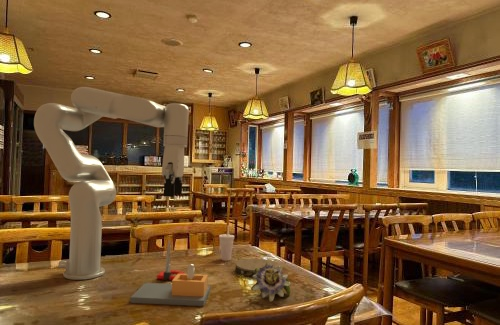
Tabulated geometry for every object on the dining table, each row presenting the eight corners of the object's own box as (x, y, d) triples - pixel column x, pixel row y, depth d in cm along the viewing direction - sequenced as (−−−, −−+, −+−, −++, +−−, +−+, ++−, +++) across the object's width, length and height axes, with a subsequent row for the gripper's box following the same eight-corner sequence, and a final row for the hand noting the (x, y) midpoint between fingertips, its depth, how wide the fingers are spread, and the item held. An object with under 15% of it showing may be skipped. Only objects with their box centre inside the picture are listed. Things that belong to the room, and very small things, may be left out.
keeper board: (130, 302, 95) (130, 297, 95) (145, 287, 107) (145, 282, 107) (203, 306, 94) (203, 300, 94) (210, 290, 106) (210, 285, 106)
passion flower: (270, 320, 99) (250, 289, 96) (258, 299, 109) (240, 271, 106) (302, 296, 101) (284, 266, 97) (287, 278, 111) (270, 249, 108)
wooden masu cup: (171, 295, 97) (172, 280, 97) (177, 287, 104) (177, 273, 104) (203, 296, 97) (204, 282, 97) (207, 288, 103) (207, 274, 103)
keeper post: (185, 292, 99) (186, 264, 99) (187, 290, 101) (188, 262, 101) (192, 293, 99) (193, 264, 99) (194, 290, 101) (195, 263, 101)
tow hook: (164, 272, 124) (153, 279, 114) (167, 236, 124) (156, 239, 115) (187, 275, 122) (178, 282, 113) (189, 237, 123) (180, 241, 114)
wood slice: (286, 277, 123) (286, 268, 123) (243, 280, 117) (244, 271, 117) (268, 265, 138) (268, 257, 138) (230, 267, 132) (230, 259, 132)
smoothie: (233, 261, 140) (234, 226, 140) (217, 261, 140) (218, 226, 140) (234, 257, 146) (235, 224, 146) (218, 257, 146) (220, 223, 146)
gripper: (171, 143, 122) (168, 192, 121) (155, 139, 104) (153, 196, 104) (192, 144, 121) (190, 193, 121) (180, 140, 104) (177, 198, 104)
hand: (173, 195), depth 113 cm, fingers open, 9 cm apart
